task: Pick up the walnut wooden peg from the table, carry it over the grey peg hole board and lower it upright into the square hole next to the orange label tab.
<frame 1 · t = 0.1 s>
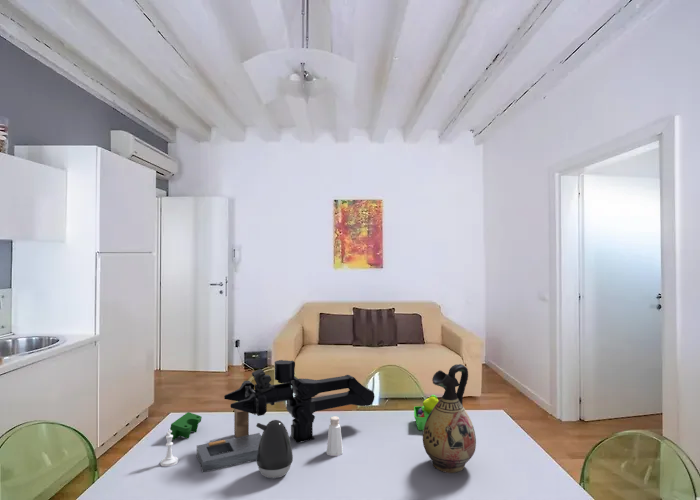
hand: (227, 401, 133), 17 cm above the table, tool horizontal, fingers open, 9 cm apart
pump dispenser: (274, 474, 121), on the table
ceramic jug: (451, 465, 125), on the table
chess piece: (169, 463, 127), on the table
pepper shaker: (334, 453, 134), on the table
grey peg hole board: (233, 456, 131), on the table
fruit basket: (426, 426, 155), on the table
clamp: (185, 435, 147), on the table
walnut peg: (241, 435, 147), on the table
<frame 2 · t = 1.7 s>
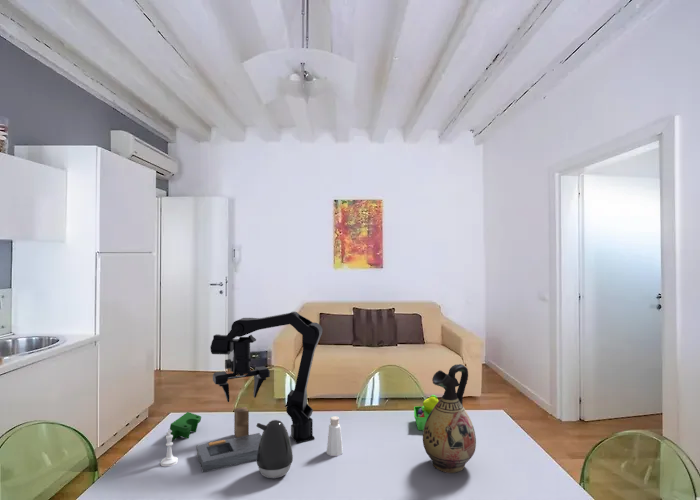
hand: (241, 399, 147), 12 cm above the table, tool pointing down, fingers open, 9 cm apart
nothing on the table moved.
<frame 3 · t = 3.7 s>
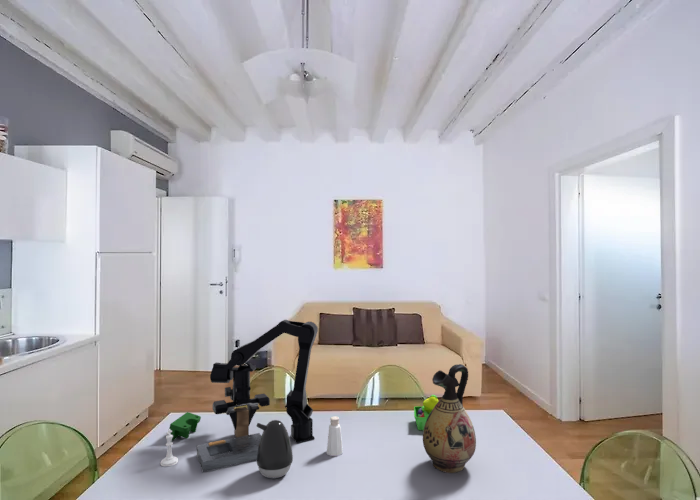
hand: (241, 428, 147), 3 cm above the table, tool pointing down, fingers closed on walnut peg, 4 cm apart
walnut peg: (241, 435, 147), on the table, touching gripper
everything else where it was.
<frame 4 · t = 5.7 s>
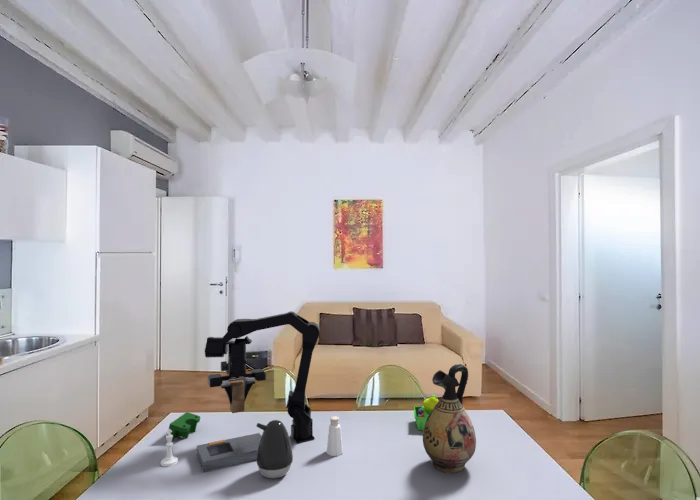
hand: (237, 402, 143), 13 cm above the table, tool pointing down, fingers closed on walnut peg, 4 cm apart
walnut peg: (237, 410, 143), point 10 cm above the table, touching gripper
everything else where it was.
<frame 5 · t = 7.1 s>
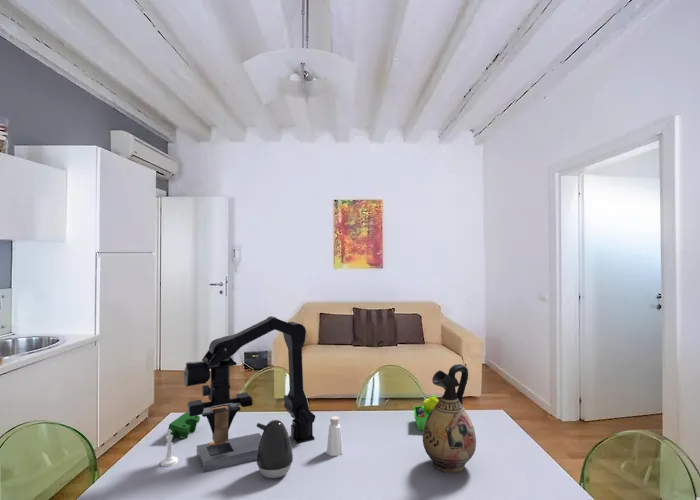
hand: (220, 431, 130), 8 cm above the table, tool pointing down, fingers closed on walnut peg, 4 cm apart
walnut peg: (220, 439, 130), point 6 cm above the table, touching gripper
everything else where it was.
when the fingers open (5 cm above the table, at t = 8.1 s): walnut peg drops 2 cm, resting in grey peg hole board.
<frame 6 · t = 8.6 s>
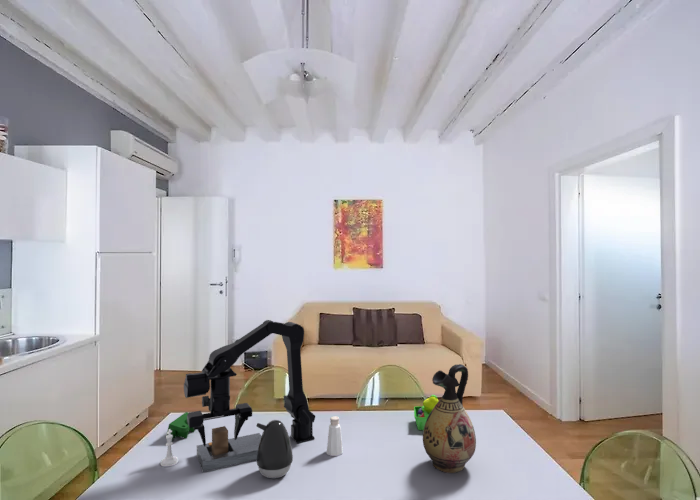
hand: (220, 442, 130), 5 cm above the table, tool pointing down, fingers open, 9 cm apart
walnut peg: (220, 458, 130), resting in grey peg hole board
everything else where it was.
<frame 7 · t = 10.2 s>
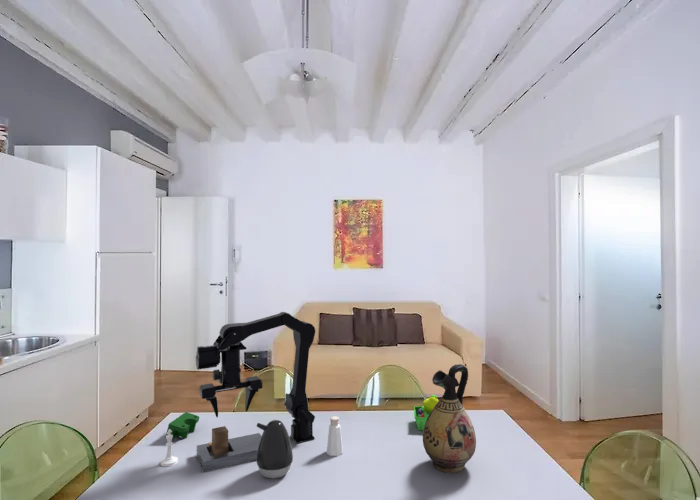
hand: (231, 413, 133), 12 cm above the table, tool pointing down, fingers open, 9 cm apart
nothing on the table moved.
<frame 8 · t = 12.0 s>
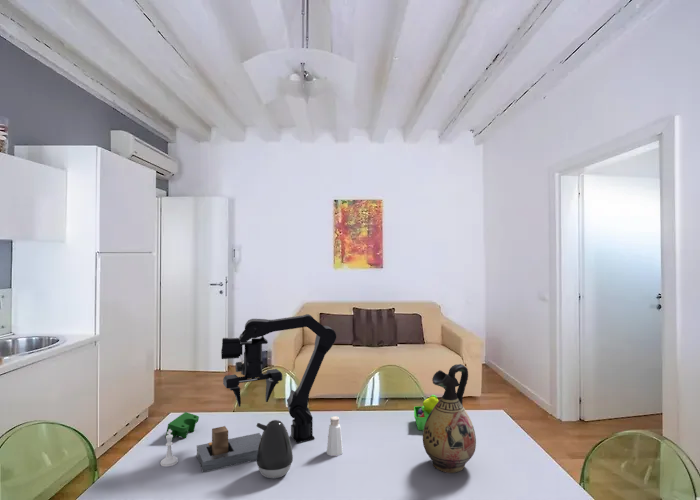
hand: (253, 404, 141), 13 cm above the table, tool pointing down, fingers open, 9 cm apart
at the end: walnut peg 0.1 cm from the target spot on the grey peg hole board, point 0.0 cm above the grey peg hole board's base; walnut peg tilted 0°; the gripper is holding nothing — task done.
